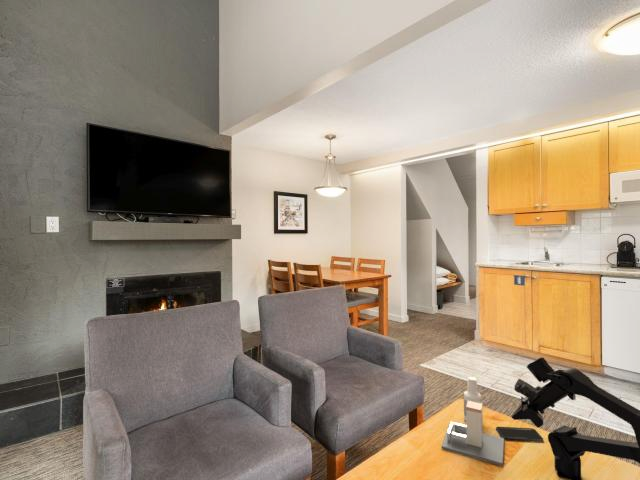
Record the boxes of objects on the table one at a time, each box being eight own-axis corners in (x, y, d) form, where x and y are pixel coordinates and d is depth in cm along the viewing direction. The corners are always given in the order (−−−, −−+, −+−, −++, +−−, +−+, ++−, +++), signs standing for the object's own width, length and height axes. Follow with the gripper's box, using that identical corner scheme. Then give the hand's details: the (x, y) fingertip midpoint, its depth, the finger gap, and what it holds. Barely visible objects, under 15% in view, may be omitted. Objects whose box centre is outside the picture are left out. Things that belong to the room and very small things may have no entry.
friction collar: (468, 434, 133) (468, 425, 133) (466, 446, 126) (466, 437, 126) (451, 430, 137) (450, 421, 137) (447, 441, 129) (447, 432, 129)
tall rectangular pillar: (482, 440, 129) (482, 403, 129) (481, 447, 125) (481, 410, 125) (468, 436, 132) (467, 400, 132) (466, 443, 127) (466, 406, 127)
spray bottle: (468, 414, 150) (468, 373, 150) (484, 420, 145) (484, 378, 144) (461, 419, 146) (460, 378, 145) (476, 426, 140) (476, 383, 140)
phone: (494, 426, 139) (534, 428, 137) (495, 429, 139) (534, 431, 137) (502, 438, 131) (544, 440, 129) (502, 441, 131) (544, 443, 129)
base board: (503, 440, 131) (503, 438, 131) (502, 466, 117) (502, 463, 117) (448, 426, 141) (448, 424, 141) (441, 448, 127) (441, 446, 127)
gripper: (529, 365, 127) (495, 388, 133) (530, 385, 111) (493, 410, 117) (554, 390, 123) (519, 413, 129) (560, 415, 107) (519, 439, 113)
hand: (512, 418), depth 122 cm, fingers closed
